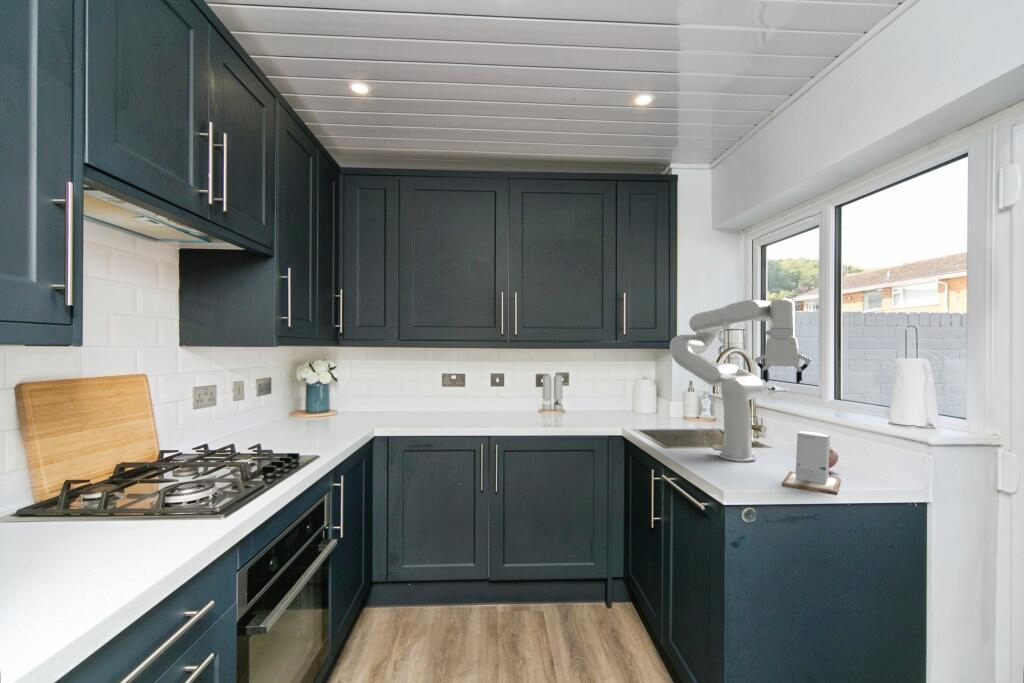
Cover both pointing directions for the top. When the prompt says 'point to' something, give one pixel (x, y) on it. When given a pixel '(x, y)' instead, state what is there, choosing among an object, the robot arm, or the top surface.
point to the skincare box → (812, 457)
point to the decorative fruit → (832, 457)
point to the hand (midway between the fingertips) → (782, 382)
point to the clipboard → (812, 484)
